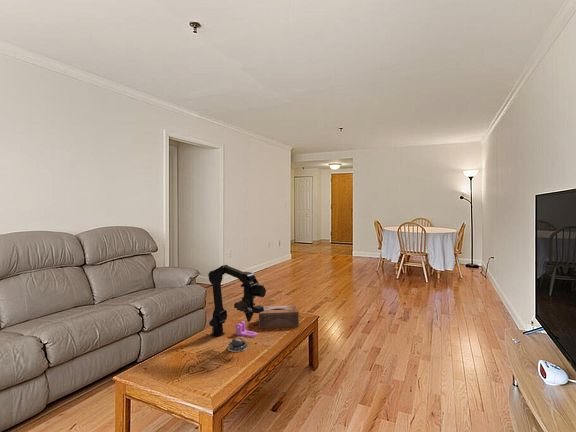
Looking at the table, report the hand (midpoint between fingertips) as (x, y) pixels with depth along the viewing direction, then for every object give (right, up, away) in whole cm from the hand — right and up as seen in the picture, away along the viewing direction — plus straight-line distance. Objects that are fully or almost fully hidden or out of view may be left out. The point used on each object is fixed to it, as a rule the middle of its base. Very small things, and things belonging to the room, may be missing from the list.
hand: (248, 321), depth 192 cm
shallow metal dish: (-5, -12, -7) cm, 15 cm away
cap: (-6, -12, -7) cm, 15 cm away
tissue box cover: (+16, -12, +31) cm, 37 cm away
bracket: (-3, -12, +12) cm, 17 cm away
